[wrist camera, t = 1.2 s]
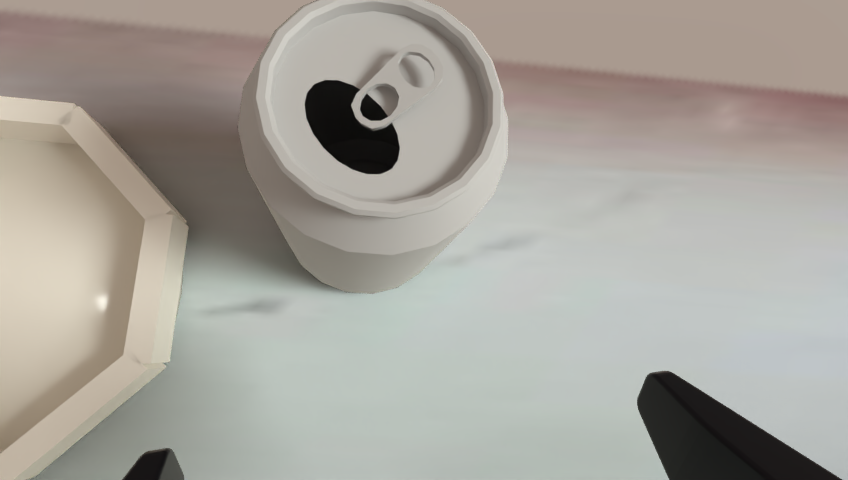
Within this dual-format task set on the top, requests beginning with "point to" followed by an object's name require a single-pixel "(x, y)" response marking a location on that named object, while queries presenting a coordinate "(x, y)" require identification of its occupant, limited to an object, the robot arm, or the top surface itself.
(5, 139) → the bowl
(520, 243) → the top surface
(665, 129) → the top surface
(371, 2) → the can
